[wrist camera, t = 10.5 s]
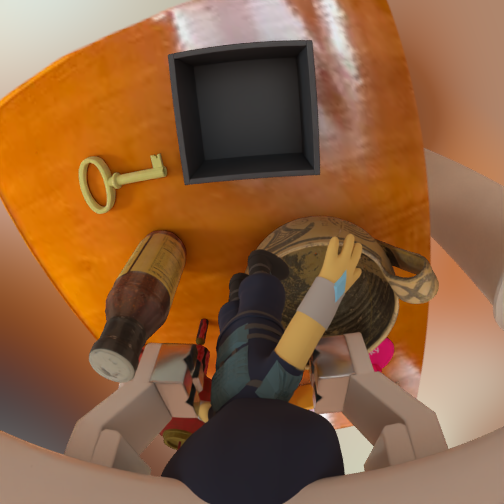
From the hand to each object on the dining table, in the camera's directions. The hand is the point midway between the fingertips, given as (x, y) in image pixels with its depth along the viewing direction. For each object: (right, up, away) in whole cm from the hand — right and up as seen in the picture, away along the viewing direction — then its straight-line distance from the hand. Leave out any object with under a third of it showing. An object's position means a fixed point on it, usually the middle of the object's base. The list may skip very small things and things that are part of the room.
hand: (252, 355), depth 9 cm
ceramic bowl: (+7, +2, +30) cm, 31 cm away
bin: (0, +18, +21) cm, 28 cm away
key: (-16, +12, +25) cm, 32 cm away
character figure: (0, +2, +5) cm, 5 cm away
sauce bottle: (-11, +4, +30) cm, 32 cm away
